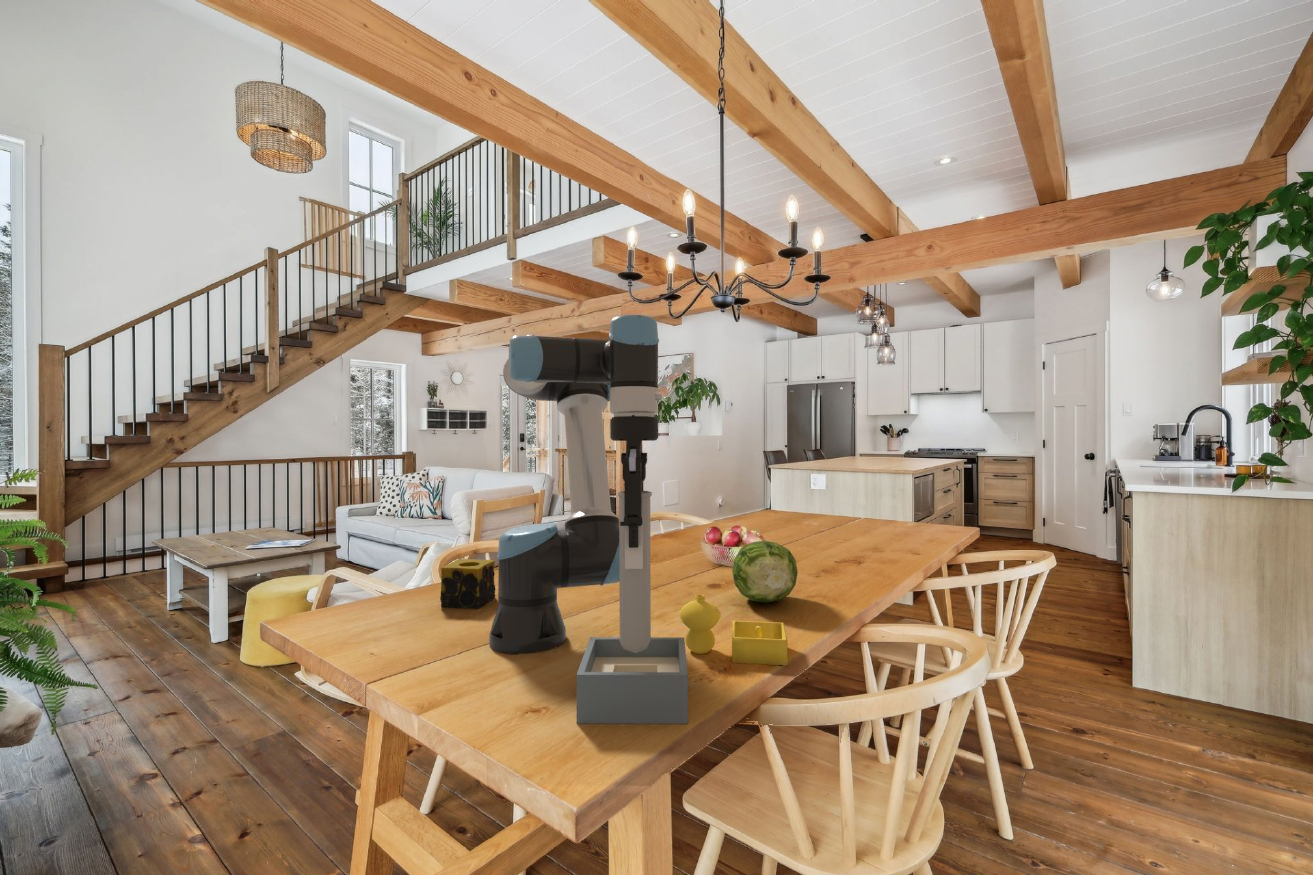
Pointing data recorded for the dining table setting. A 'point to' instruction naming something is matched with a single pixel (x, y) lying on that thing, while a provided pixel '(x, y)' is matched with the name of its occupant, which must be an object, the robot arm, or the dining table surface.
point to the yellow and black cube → (467, 584)
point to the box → (633, 683)
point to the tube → (635, 586)
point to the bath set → (735, 635)
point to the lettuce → (764, 571)
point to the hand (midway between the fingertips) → (634, 564)
